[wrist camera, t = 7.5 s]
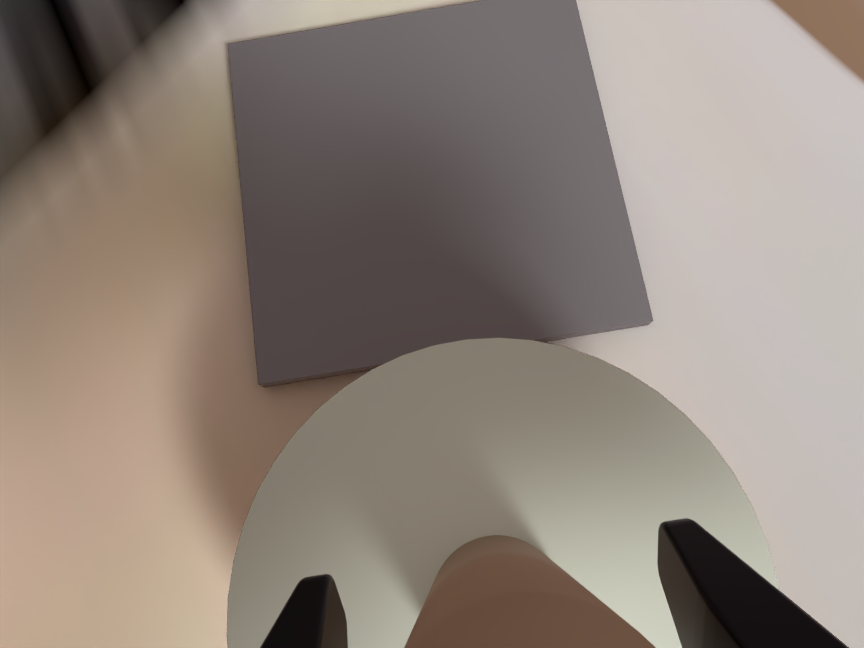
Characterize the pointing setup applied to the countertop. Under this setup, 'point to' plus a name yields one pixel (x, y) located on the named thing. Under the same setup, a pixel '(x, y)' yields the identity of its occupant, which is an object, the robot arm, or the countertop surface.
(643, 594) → the lid
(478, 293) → the mat
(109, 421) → the countertop surface
